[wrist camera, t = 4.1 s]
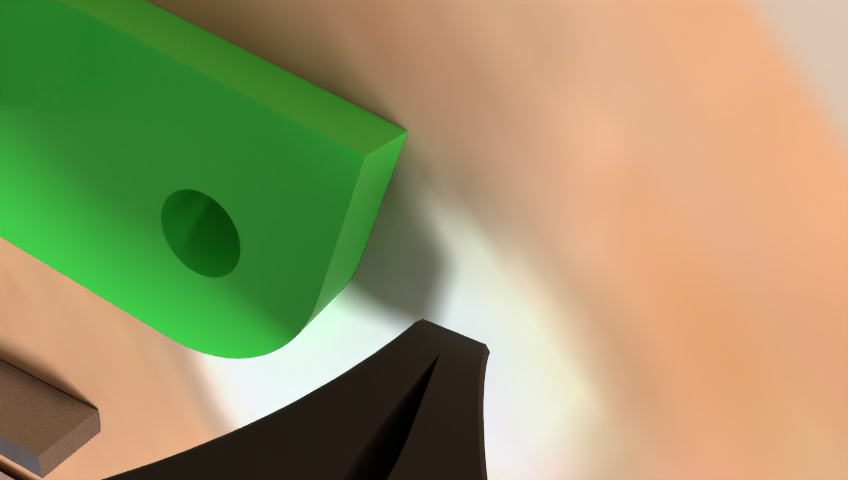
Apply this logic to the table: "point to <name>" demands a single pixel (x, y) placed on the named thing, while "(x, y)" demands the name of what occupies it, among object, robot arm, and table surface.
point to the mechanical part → (182, 172)
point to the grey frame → (40, 422)
